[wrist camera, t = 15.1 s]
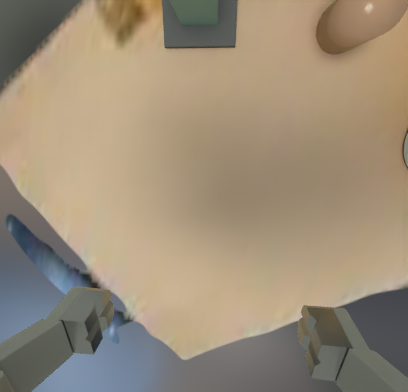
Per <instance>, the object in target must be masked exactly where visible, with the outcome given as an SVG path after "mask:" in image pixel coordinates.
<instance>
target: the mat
mask: <svg viewBox="0 0 408 392" xmlns="http://www.w3.org/2000/svg"><path fill="white" fill-rule="evenodd" d="M162 6H163V25H164V44H165V48H219V47H235V36H236V15H237V0H218V25H181V23H180V21H179V19H178V17H177V15H176V13H175V11H174V9H173V7H172V5H171V3H170V1H169V0H162Z"/></svg>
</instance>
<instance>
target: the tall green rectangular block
mask: <svg viewBox="0 0 408 392" xmlns="http://www.w3.org/2000/svg"><path fill="white" fill-rule="evenodd" d="M169 1H170V3H171V5H172V7H173V9H174V11H175V13H176V15H177V17H178V19H179V21H180V23H181V25H218V0H169Z"/></svg>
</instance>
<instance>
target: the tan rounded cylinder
mask: <svg viewBox="0 0 408 392" xmlns="http://www.w3.org/2000/svg"><path fill="white" fill-rule="evenodd" d="M407 7H408V0H336V1H335V2H334V3H333V4H332V5H331V6H330V7H329V8H328V9H327V10H326V11H325V12H324V13H323V15H322V16H321V18H320V20H319V22H318V25H317V31H316V37H317V42H318V44H319V46H320V48H321V49H322V50H323V51H325V52H326V53H329V54H340V53H343V52H345V51H347V50H350V49H352V48H354V47H356V46H358V45H360V44H363V43H365V42H367V41H369V40H371V39H373V38H376V37H378V36H380V35H382V34H384V33H386V32H388V31H389V30H390V29H392V28H393V27H394V26H395V25H396V24H397V23H398V22H399V21H400V19H401V18H402V17H403V15H404V13H405V11H406V9H407Z"/></svg>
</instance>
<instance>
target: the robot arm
mask: <svg viewBox="0 0 408 392" xmlns="http://www.w3.org/2000/svg"><path fill="white" fill-rule="evenodd" d="M404 159H405V162H406V165H407V167H408V133H407V136H406V139H405V143H404ZM110 298H111V292H110V290H105V289H96V288H87V287H86V288H85V287H74V288H72V289H71V290H70V291H69V292H68V294H67V295H66V296H65V297H64V298H63V299H62V301H61V302H60V303H59V304H58V305H57V307H56V308H55V309H54V310H53V311H52V312H51V314H50V315H49V316H48V317H47V318H46V319H41V320H40V321H38V322H36V323H35V324H33V325H31V326H30V327H28V328H26V329H24V330H23V331H21V332H19V333H18V334H16V335H14V336H12V337H11V338H9V339H7V340H6V341H4V342H2V343H1V344H0V392H31V391H32V390H34V389H35V388H36V387H37V386H38V385H39V384H40V383H41V382H43V381H44V380H45V379H46V378H47V377H48V376H49V375H50V374H52V373H53V372H54V371H55V370H56V369H57V368H58V367H59V366H61V365H62V364H63V363H64V362H65V361H66V360H67V359H69V358H70V357H71V356H72V355H73V353H83V354H94V353H95V351H96V349H97V348H98V346H99V344H100V342H101V340H102V338H103V336H102V332H103V331H104V330H106V329H107V328H108V327H109V325H110V323H111V321H112V318H113V314H114V306H113V303H112V302H111V301H110ZM301 313H302V316H303V317H302V318H301V319H300V320H299V323H298V335H299V340H300V343H301V346H302V347H303V348H304V349H305V350H306V352H307V353H306V357H305V360H306V363H307V366H308V369H309V372H310V376H311V378H315V379H322V380H329V381H336V384H337V385H338V386H339V387H340V389H341V390H342V391H343V392H408V378H407V377H405V376H404V375H403V374H402V373H401V372H399V371H398V370H397V369H396V368H394V367H393V366H392V365H391V364H390V363H388V362H387V361H386V360H385V359H384V358H382V357H381V356H380V355H379V354H378V353H376V352H375V351H371V350H369V348H368V346H367V345H366V343H365V341H364V340H363V338H362V336H361V334H360V333H359V331H358V330H357V328H356V326H355V324H354V323H353V321H352V319H351V317H350V316H349V314H348V312H347V311H346V310H345V309H344V308H333V307H330V308H329V307H321V306H306V305H304V306H303V307H302V310H301Z"/></svg>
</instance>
